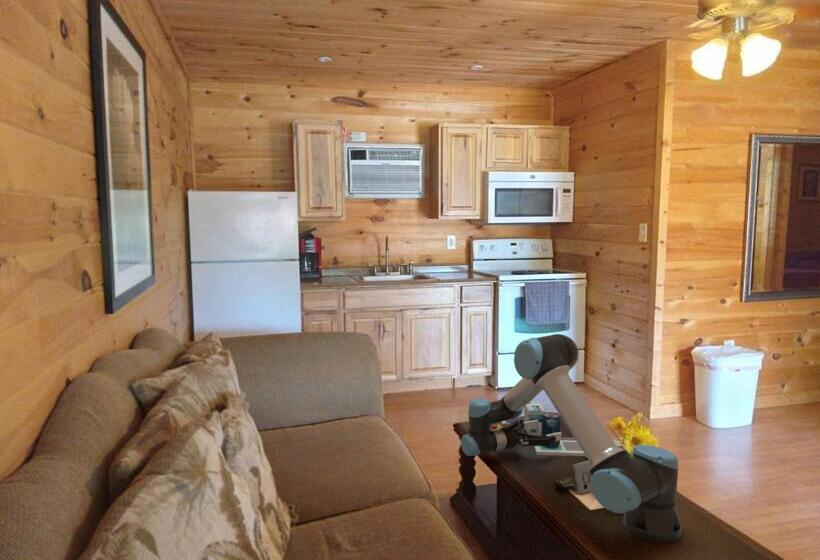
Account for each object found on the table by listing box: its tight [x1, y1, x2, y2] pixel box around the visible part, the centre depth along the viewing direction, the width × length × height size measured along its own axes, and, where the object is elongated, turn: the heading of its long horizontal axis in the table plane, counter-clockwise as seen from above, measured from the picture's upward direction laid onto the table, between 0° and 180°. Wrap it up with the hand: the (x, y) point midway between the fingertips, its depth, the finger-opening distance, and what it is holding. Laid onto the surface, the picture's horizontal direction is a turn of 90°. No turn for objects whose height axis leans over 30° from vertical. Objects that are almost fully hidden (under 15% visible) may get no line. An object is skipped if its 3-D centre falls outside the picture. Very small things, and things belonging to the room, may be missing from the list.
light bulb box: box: [523, 401, 546, 436], centre depth 231 cm, size 11×7×11 cm, turn 179°
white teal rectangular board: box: [533, 437, 586, 457], centre depth 215 cm, size 14×20×1 cm
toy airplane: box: [490, 420, 511, 430], centre depth 226 cm, size 9×9×6 cm
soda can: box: [541, 411, 562, 448], centre depth 214 cm, size 7×7×12 cm
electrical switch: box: [569, 460, 592, 495], centre depth 183 cm, size 9×5×9 cm, turn 116°
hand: (549, 429), depth 214 cm, fingers open, 13 cm apart
